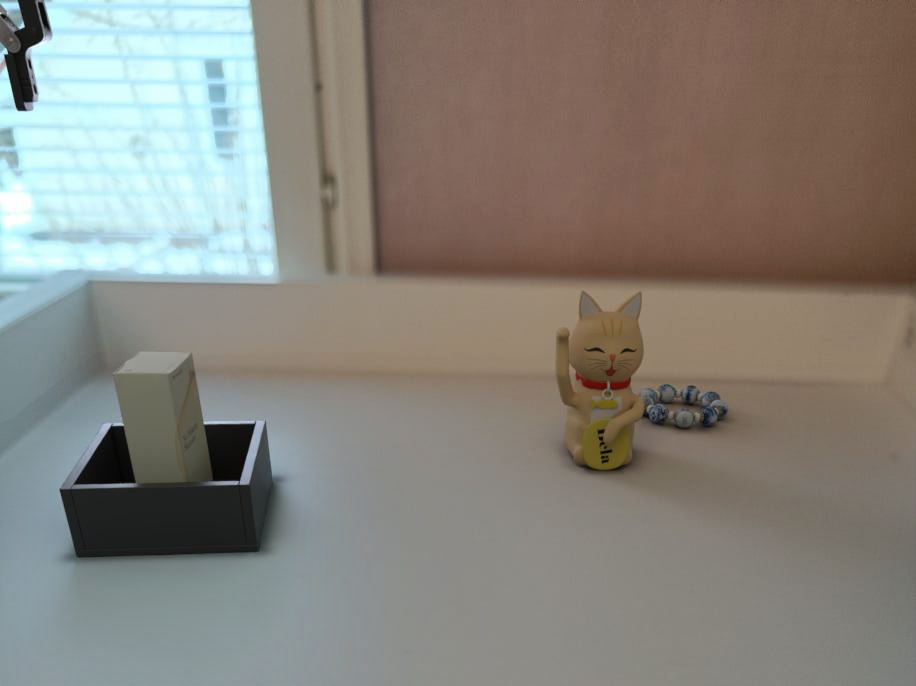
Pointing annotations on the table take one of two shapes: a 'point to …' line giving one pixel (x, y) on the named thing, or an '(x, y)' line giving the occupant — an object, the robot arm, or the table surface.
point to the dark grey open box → (170, 497)
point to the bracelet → (683, 416)
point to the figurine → (601, 382)
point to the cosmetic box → (163, 418)
